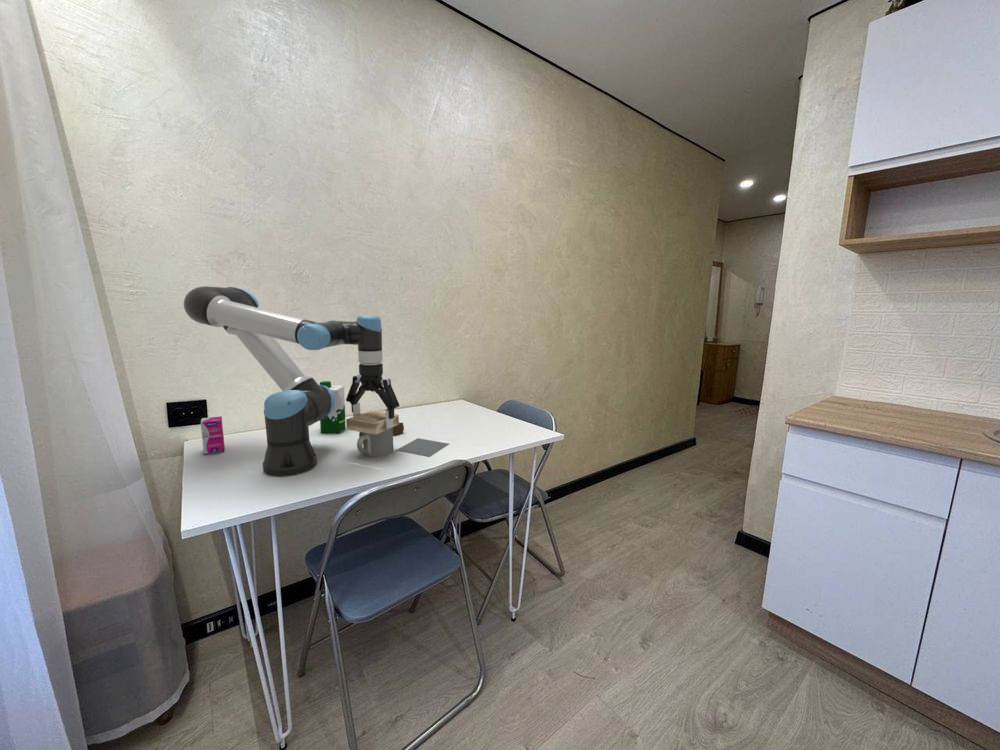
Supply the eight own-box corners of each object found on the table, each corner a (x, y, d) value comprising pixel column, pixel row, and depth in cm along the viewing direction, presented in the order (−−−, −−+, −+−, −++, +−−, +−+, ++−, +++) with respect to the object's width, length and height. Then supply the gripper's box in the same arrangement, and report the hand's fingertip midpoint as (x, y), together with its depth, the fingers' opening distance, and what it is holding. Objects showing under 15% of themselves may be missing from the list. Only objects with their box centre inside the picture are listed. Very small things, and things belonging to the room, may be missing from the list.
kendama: (354, 441, 150) (395, 427, 166) (370, 448, 145) (411, 432, 161) (353, 426, 149) (395, 413, 165) (370, 432, 144) (411, 418, 160)
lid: (375, 434, 127) (375, 423, 126) (346, 429, 132) (346, 418, 131) (398, 424, 138) (398, 413, 137) (371, 419, 143) (370, 409, 142)
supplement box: (203, 455, 133) (199, 422, 130) (204, 449, 137) (200, 418, 135) (224, 452, 136) (221, 420, 134) (225, 446, 141) (221, 415, 138)
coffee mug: (383, 446, 145) (382, 419, 143) (399, 453, 138) (398, 425, 136) (348, 456, 135) (347, 427, 133) (363, 464, 128) (362, 434, 127)
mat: (429, 458, 134) (429, 457, 134) (395, 452, 139) (395, 450, 139) (449, 445, 147) (449, 443, 147) (417, 439, 152) (417, 438, 152)
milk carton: (327, 427, 164) (324, 379, 161) (349, 427, 164) (346, 380, 160) (317, 434, 156) (314, 384, 152) (340, 434, 156) (337, 384, 152)
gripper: (409, 364, 130) (410, 426, 134) (349, 358, 139) (352, 417, 143) (395, 367, 123) (396, 433, 127) (332, 361, 132) (336, 422, 136)
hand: (373, 425), depth 135 cm, fingers open, 13 cm apart
